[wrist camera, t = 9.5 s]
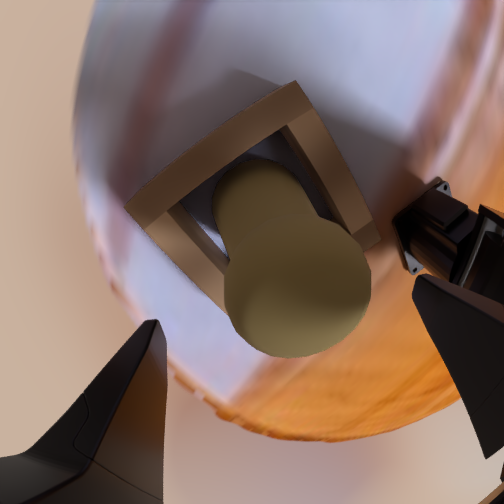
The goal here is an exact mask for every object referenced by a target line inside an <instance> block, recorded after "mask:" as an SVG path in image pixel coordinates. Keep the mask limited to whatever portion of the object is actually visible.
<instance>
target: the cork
mask: <svg viewBox="0 0 504 504" xmlns="http://www.w3.org/2000/svg"><path fill="white" fill-rule="evenodd" d="M212 214H213V217H214V219H215V222H216V225H217V228H218V230H219V233H220V235H221V238H222V240H223V243H224V246H225V248H226V251H227V253H228V255H229V258H230V262H229V264H228V267H227V269H226V272H225V274H224V306H225V308H226V311H227V313H228V315H229V318H230V320H231V322H232V324H233V326H234V328H235V330H236V332H237V333H238V334H239V335H240V336H241V337H242V338H243V339H244V340H245V341H246V342H247V343H248V344H250V345H251V346H252V347H254V348H255V349H257V350H259V351H261V352H263V353H266V354H268V355H270V356H274V357H282V358H298V357H307V356H310V355H313V354H316V353H319V352H322V351H325V350H327V349H328V348H330V347H332V346H334V345H335V344H337V343H339V342H341V341H342V340H343V339H344V338H345V337H346V336H347V335H349V334H350V333H351V332H352V331H353V330H354V329H355V328H356V326H357V325H358V324H359V322H360V321H361V319H362V318H363V316H364V315H365V312H366V310H367V307H368V304H369V301H370V297H371V270H370V267H369V265H368V263H367V260H366V258H365V255H364V253H363V251H362V248H361V246H360V244H359V243H357V242H356V241H355V240H354V239H353V238H352V237H351V236H350V235H349V234H348V233H347V232H346V231H345V230H344V229H343V228H342V227H341V226H339V225H338V224H336V223H333V222H331V221H328V220H326V219H323V218H321V217H319V216H318V214H317V213H316V211H315V209H314V207H313V206H312V204H311V202H310V200H309V198H308V197H307V195H306V193H305V191H304V190H303V188H302V186H301V185H300V183H299V181H298V180H297V178H296V176H295V175H294V174H293V173H292V172H291V171H290V170H289V169H287V168H286V167H285V166H284V165H282V164H279V163H277V162H274V161H271V160H262V159H253V160H250V161H246V162H242V163H239V164H238V165H236V166H235V167H233V168H232V169H230V170H229V171H227V172H226V173H225V174H224V176H223V177H222V178H221V179H220V181H219V182H218V183H217V185H216V188H215V191H214V194H213V197H212Z"/></svg>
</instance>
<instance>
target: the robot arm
mask: <svg viewBox="0 0 504 504" xmlns="http://www.w3.org/2000/svg"><path fill="white" fill-rule="evenodd" d="M478 212H479V213H478V214H477V213H475V212H474V211H472V210H470V209H468V206H467V205H466V204H464V203H462V202H460V201H458V200H457V199H455V198H453V197H452V195H451V191H450V187H449V183H448V182H446V181H441V182H439V183H438V184H437V185H436V186H434V187H433V188H432V189H430V190H429V191H428V192H426V193H425V194H424V195H423V196H421V197H420V198H419V199H417V200H416V201H415V202H413V203H412V204H411V205H410V206H408V207H407V208H406V209H404V210H403V211H402V212H400V213H399V214H397V215H396V216H395V217H394V218H393V221H392V224H393V227H394V230H395V232H396V235H397V238H398V241H399V244H400V246H401V249H402V252H403V255H404V258H405V262H406V265H407V268H408V271H409V272H410V273H411V274H412V275H415V274H416V273H418V272H419V271H420V270H422V269H423V268H426V269H427V270H428V271H429V272H430V273H431V274H432V275H433V276H432V275H430V274H421V275H418V276H417V278H416V280H415V284H414V288H413V291H412V299H413V302H414V304H415V306H416V308H417V310H418V312H419V314H420V316H421V318H422V321H423V323H424V325H425V327H426V329H427V331H428V333H429V335H430V337H431V339H432V340H433V342H434V344H435V346H436V348H437V350H438V351H439V353H440V355H441V357H442V359H443V361H444V363H445V365H446V367H447V369H448V371H449V373H450V375H451V377H452V379H453V381H454V383H455V385H456V387H457V389H458V391H459V394H460V396H461V398H462V400H463V403H464V405H465V407H466V409H467V412H468V414H469V416H470V419H471V422H472V424H473V427H474V429H475V432H476V434H477V437H478V440H479V442H480V446H481V448H482V451H483V454H484V457H485V459H487V458H489V457H490V456H492V455H493V454H494V453H496V452H497V451H498V450H500V449H501V448H502V447H503V446H504V213H502V212H499V211H497V210H495V209H492V208H490V207H487V206H485V205H482V204H480V206H479V209H478ZM399 220H400V221H399ZM398 221H399V223H398ZM397 223H398V224H397ZM167 386H168V384H167V343H166V338H165V335H164V332H163V330H162V327H161V325H160V322H159V321H158V320H157V319H152V320H146V321H144V322H143V323H142V324H141V326H140V327H139V328H138V329H137V330H136V331H135V332H134V333H133V335H132V336H131V337H130V338H129V339H128V341H126V343H125V344H124V345H123V346H122V347H121V348H120V349H119V350H118V352H117V353H116V354H115V355H114V356H113V357H112V359H111V360H110V361H109V362H108V363H107V364H106V365H105V367H104V368H103V369H102V370H101V371H100V372H99V374H98V375H97V376H96V377H95V378H94V379H93V381H92V382H91V383H90V384H89V385H88V387H87V388H86V389H85V390H84V393H82V394H81V395H80V396H79V397H78V398H77V400H76V401H75V402H74V403H73V404H72V405H71V407H70V408H69V409H68V410H67V411H66V412H65V413H64V414H63V416H61V417H60V419H59V420H58V421H57V422H56V423H55V424H54V425H53V426H52V427H51V428H50V429H49V430H48V431H47V432H46V433H45V434H44V435H43V436H42V437H41V438H40V439H39V440H38V441H37V442H36V443H35V444H34V445H33V446H32V447H31V448H29V449H28V450H26V451H25V452H23V453H20V454H17V455H13V456H7V457H1V458H0V504H163V459H164V433H165V415H166V400H167ZM500 479H501V481H502V484H501V485H499V486H498V487H497V488H496V489H495V490H494V491H493V492H492V493H490V494H489V495H488V496H487V497H486V498H485V499H483V500H482V501H481V502H480V503H479V504H504V464H503V468H502V473H501V477H500Z"/></svg>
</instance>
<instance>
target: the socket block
mask: <svg viewBox="0 0 504 504" xmlns="http://www.w3.org/2000/svg"><path fill="white" fill-rule="evenodd" d="M277 130H280V132H281V133H282V135H283V136H284V138H285V139H286V141H287V142H288V144H289V145H290V147H291V148H292V150H293V151H294V153H295V154H296V156H297V157H298V159H299V161H300V162H301V164H302V165H303V167H304V169H305V170H306V172H307V173H308V175H309V177H310V178H311V180H312V182H313V183H314V185H315V187H316V188H317V190H318V192H319V193H320V195H321V197H322V198H323V200H324V202H325V204H326V205H327V207H328V209H329V211H330V212H331V214H332V216H333V217H332V218H331V219H329V220H328V221H331V222H333V223H336V224H338V225H339V226H341V227H342V228H343V229H344V230H345V231H346V232H347V233H348V234H349V235H350V236H351V237H352V238H353V239H354V240H355V241H356V242H357V243H359V244H360V246H361V248H362V251H363V253H364V252H365V251H366V250H368V249H369V248H371V247H372V246H373V245H375V244H376V243H378V242H379V241H380V240H382V239H381V237H380V234H379V232H378V229H377V227H376V225H375V222H374V220H373V218H372V216H371V213H370V211H369V209H368V207H367V205H366V203H365V200H364V198H363V196H362V194H361V192H360V190H359V188H358V186H357V184H356V182H355V180H354V178H353V176H352V174H351V172H350V170H349V168H348V166H347V164H346V162H345V160H344V159H343V157H342V155H341V153H340V151H339V149H338V148H337V146H336V144H335V142H334V141H333V139H332V137H331V135H330V134H329V132H328V130H327V128H326V127H325V125H324V123H323V122H322V120H321V118H320V117H319V115H318V114H317V112H316V110H315V109H314V107H313V106H312V104H311V102H310V101H309V99H308V98H307V96H306V95H305V93H304V92H303V90H302V89H301V87H300V86H299V84H298V83H297V81H296V80H295V81H293V82H291V83H288V84H286V85H283V86H281V87H280V88H278V89H276V90H275V91H273V92H271V93H270V94H268V95H266V96H265V97H263V98H261V99H260V100H258V101H257V102H255V103H254V104H252V105H250V106H249V107H247V108H246V109H244V110H243V111H241V112H240V113H238V114H237V115H235V116H234V117H232V118H231V119H229V120H228V121H226V122H225V123H224V124H222V125H221V126H219V127H218V128H217V129H215V130H214V131H212V132H211V133H210V134H208V135H207V136H205V137H204V138H203V139H201V140H200V141H199V142H197V143H196V144H195V145H193V146H192V147H191V148H190V149H188V150H187V151H186V152H184V153H183V154H182V155H181V156H179V157H178V158H177V159H176V160H174V161H173V162H172V163H171V164H169V165H168V166H167V167H166V168H165V169H163V170H162V171H161V172H160V173H159V174H157V175H156V176H155V177H154V178H153V179H152V180H150V181H149V182H148V183H147V184H146V185H145V186H144V187H142V188H141V189H140V190H139V191H138V192H137V193H136V194H135V195H134V196H133V197H132V198H131V199H130V201H129V202H128V203H127V204H126V205H125V206H124V208H125V210H126V211H127V212H128V213H129V214H130V215H131V216H132V217H133V219H134V220H135V221H136V222H137V223H138V224H139V225H140V226H141V227H142V229H143V230H144V231H145V232H146V233H147V234H148V235H149V236H150V237H151V238H152V239H153V241H154V242H155V243H156V244H157V245H158V246H159V247H160V248H161V249H162V250H163V251H164V252H165V253H166V254H167V255H168V256H169V258H170V259H171V260H172V261H173V262H174V263H175V264H176V265H177V266H178V267H179V268H180V269H181V270H182V271H183V272H184V273H185V274H186V275H187V276H188V277H189V278H190V279H191V280H192V281H193V282H194V283H195V284H196V285H197V286H198V287H199V288H200V289H201V290H202V291H203V292H204V293H205V294H206V295H207V296H208V297H209V298H210V299H211V300H212V301H213V302H214V303H215V304H216V305H217V306H218V307H219V308H220V309H221V310H222V311H224V312H225V313H226V314H227V315H228V313H227V311H226V308H225V306H224V274H225V272H226V269H227V267H228V264H229V262H230V260H229V259H228V258H227V257H226V256H225V254H224V253H223V252H222V251H221V250H220V249H219V248H218V246H217V245H216V244H215V243H214V242H213V241H212V239H211V238H210V237H209V236H208V235H207V234H206V233H205V231H204V230H203V229H202V228H201V227H200V226H199V224H198V223H197V222H196V221H195V220H194V219H193V217H192V216H191V215H190V214H189V213H188V212H187V210H186V209H185V208H184V207H183V206H182V204H181V203H180V202H179V200H181V199H182V198H183V197H184V196H186V195H187V194H188V193H190V192H191V191H192V190H193V189H195V188H196V187H197V186H199V185H200V184H201V183H203V182H204V181H205V180H207V179H208V178H209V177H211V176H212V175H213V174H215V173H216V172H217V171H219V170H220V169H222V168H223V167H224V166H226V165H227V164H228V163H230V162H231V161H233V160H234V159H236V158H237V157H238V156H240V155H241V154H243V153H244V152H246V151H247V150H248V149H250V148H251V147H253V146H254V145H256V144H257V143H259V142H260V141H262V140H263V139H265V138H266V137H268V136H269V135H271V134H272V133H274V132H275V131H277ZM228 316H229V315H228Z"/></svg>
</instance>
